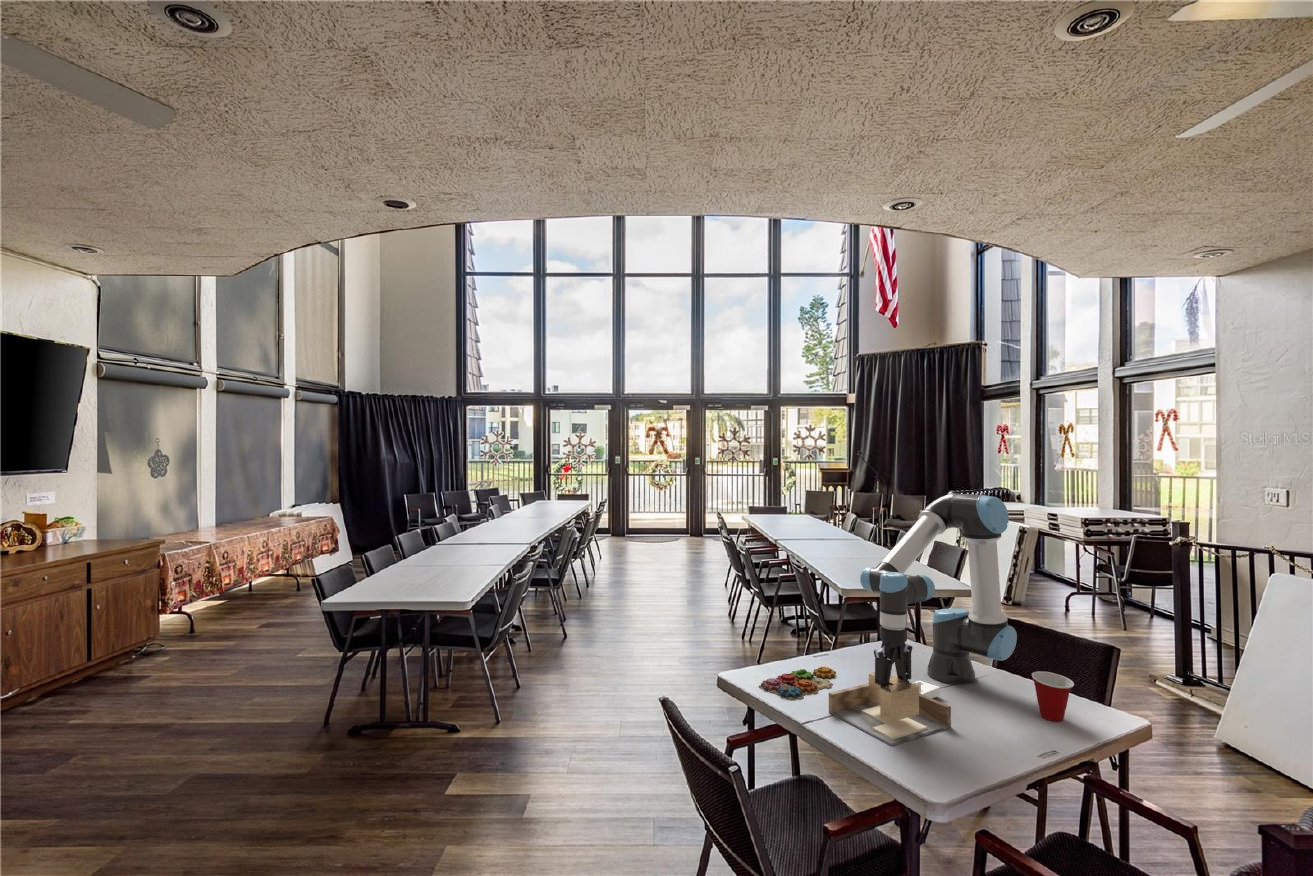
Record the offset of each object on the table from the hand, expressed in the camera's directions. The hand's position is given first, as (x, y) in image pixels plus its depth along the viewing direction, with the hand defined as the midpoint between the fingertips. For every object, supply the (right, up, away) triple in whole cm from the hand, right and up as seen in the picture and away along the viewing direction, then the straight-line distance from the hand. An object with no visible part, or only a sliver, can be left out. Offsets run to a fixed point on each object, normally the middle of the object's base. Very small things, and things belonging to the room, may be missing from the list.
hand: (893, 706), depth 189 cm
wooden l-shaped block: (-3, 0, -1) cm, 3 cm away
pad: (-3, -4, -1) cm, 5 cm away
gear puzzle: (-19, -6, +31) cm, 36 cm away
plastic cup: (+48, -5, +3) cm, 49 cm away
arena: (-1, -5, +2) cm, 5 cm away
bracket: (+14, -5, +18) cm, 23 cm away
